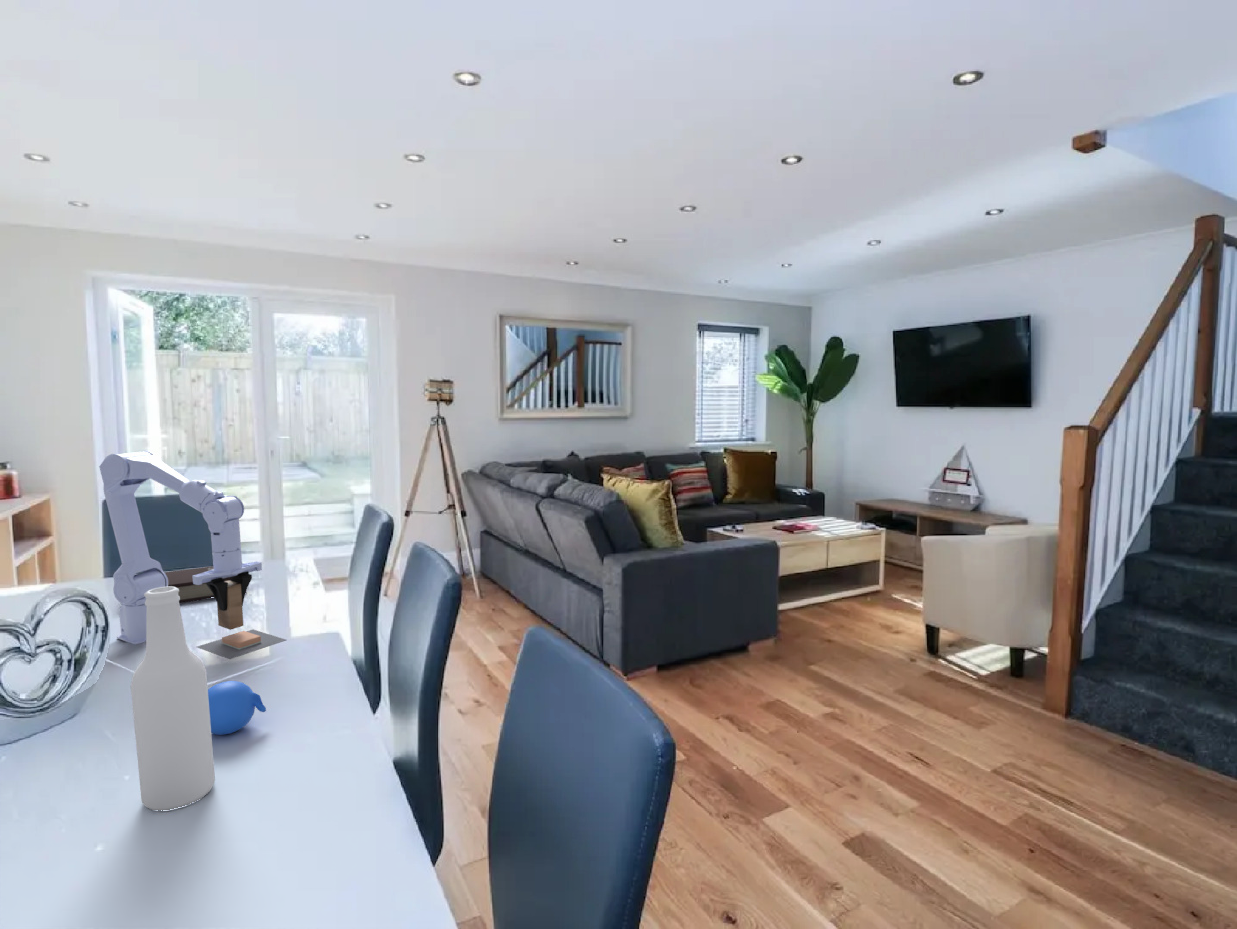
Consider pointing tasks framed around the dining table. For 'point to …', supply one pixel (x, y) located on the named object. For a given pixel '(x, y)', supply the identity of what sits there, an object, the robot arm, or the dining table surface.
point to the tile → (241, 640)
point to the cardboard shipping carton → (232, 608)
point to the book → (190, 584)
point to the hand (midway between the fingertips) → (231, 607)
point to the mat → (232, 652)
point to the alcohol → (171, 711)
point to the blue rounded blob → (232, 706)
